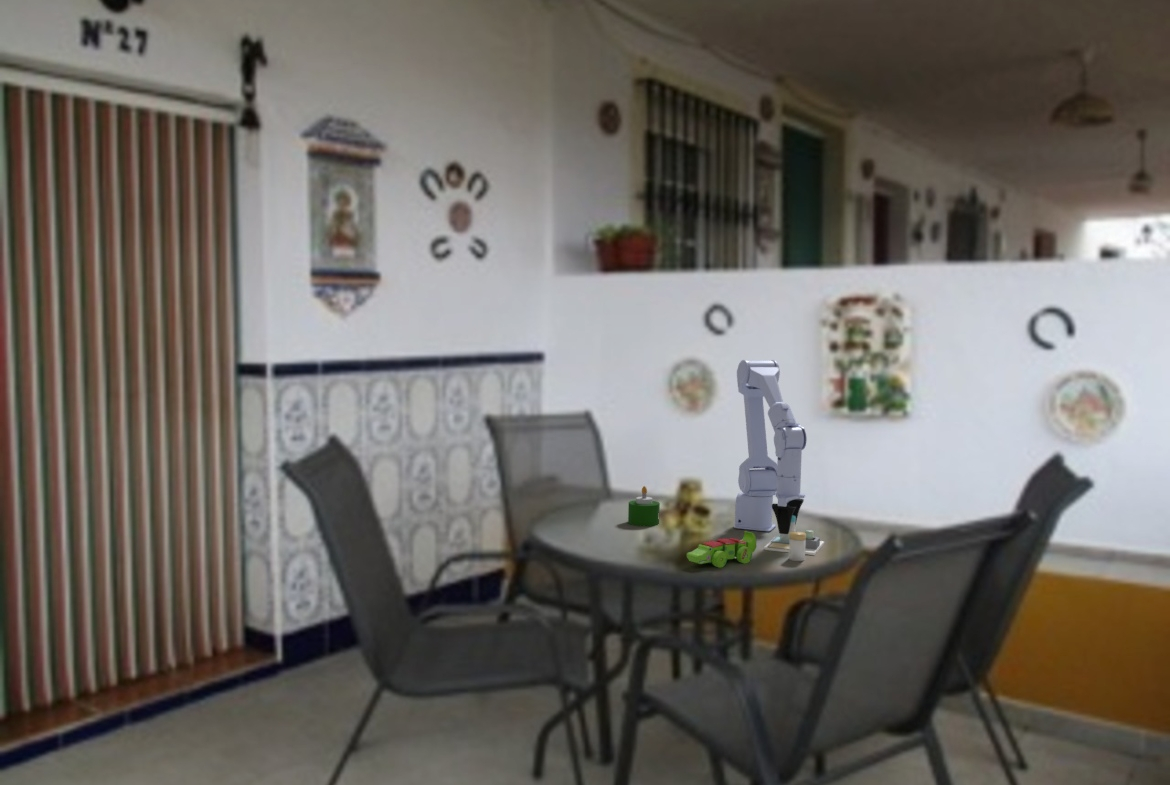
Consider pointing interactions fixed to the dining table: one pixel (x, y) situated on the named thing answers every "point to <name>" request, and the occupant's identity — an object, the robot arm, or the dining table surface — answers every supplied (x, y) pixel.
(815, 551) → the picture board
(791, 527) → the jar with teal lid
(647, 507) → the candle
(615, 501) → the dining table surface
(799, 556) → the jar with tan lid
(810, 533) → the button
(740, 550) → the toy crocodile
